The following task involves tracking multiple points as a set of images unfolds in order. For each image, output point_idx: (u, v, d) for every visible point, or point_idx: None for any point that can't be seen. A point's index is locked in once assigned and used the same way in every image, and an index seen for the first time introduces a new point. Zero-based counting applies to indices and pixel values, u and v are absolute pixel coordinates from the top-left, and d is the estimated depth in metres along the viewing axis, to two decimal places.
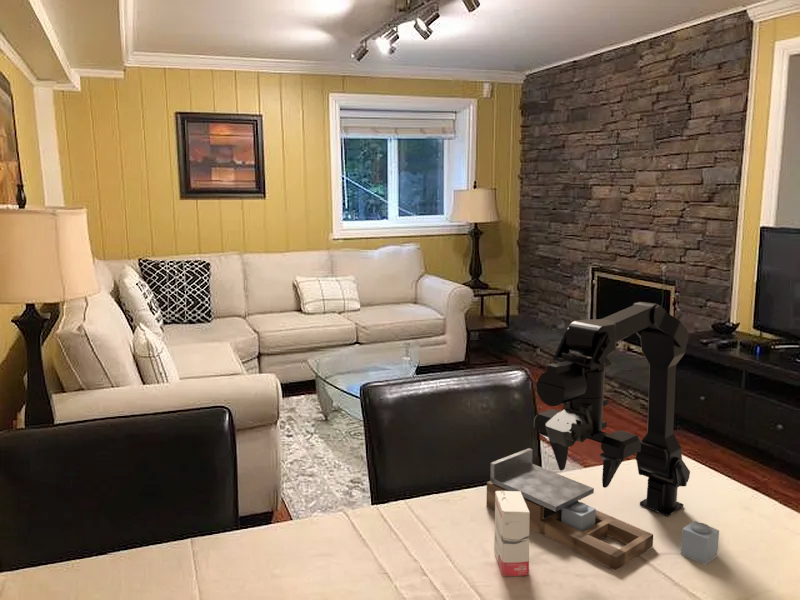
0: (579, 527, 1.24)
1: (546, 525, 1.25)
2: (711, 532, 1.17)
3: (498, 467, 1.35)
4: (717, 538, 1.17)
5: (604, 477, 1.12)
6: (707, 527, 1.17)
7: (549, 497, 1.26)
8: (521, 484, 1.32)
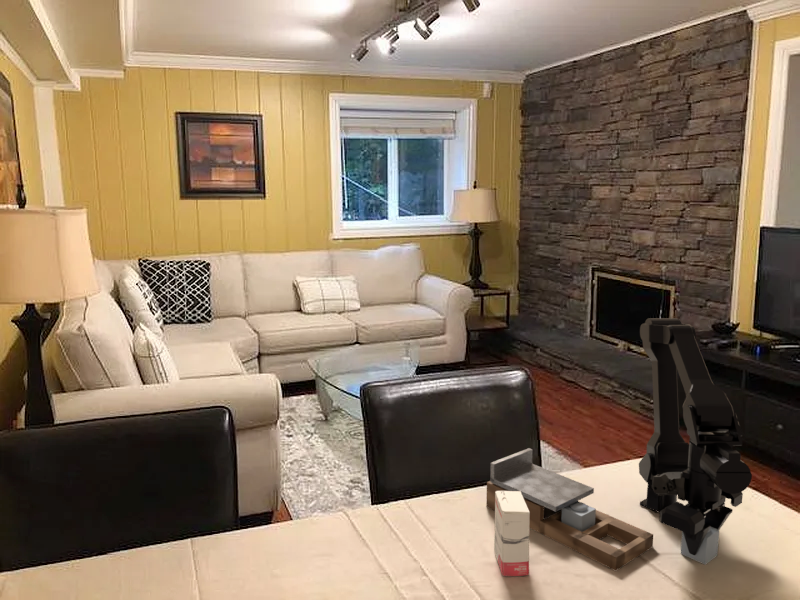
0: (579, 527, 1.24)
1: (546, 525, 1.25)
2: (711, 532, 1.17)
3: (498, 467, 1.35)
4: (717, 538, 1.17)
5: None
6: None
7: (549, 497, 1.26)
8: (521, 484, 1.32)
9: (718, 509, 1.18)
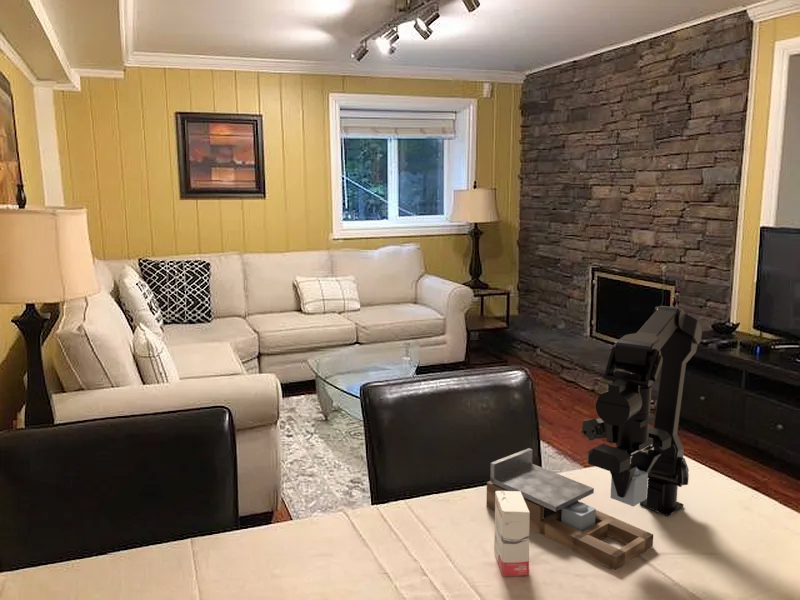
0: (579, 527, 1.24)
1: (546, 525, 1.25)
2: (640, 474, 1.17)
3: (498, 467, 1.35)
4: (646, 480, 1.17)
5: None
6: (636, 470, 1.17)
7: (549, 497, 1.26)
8: (521, 484, 1.32)
9: (646, 452, 1.18)
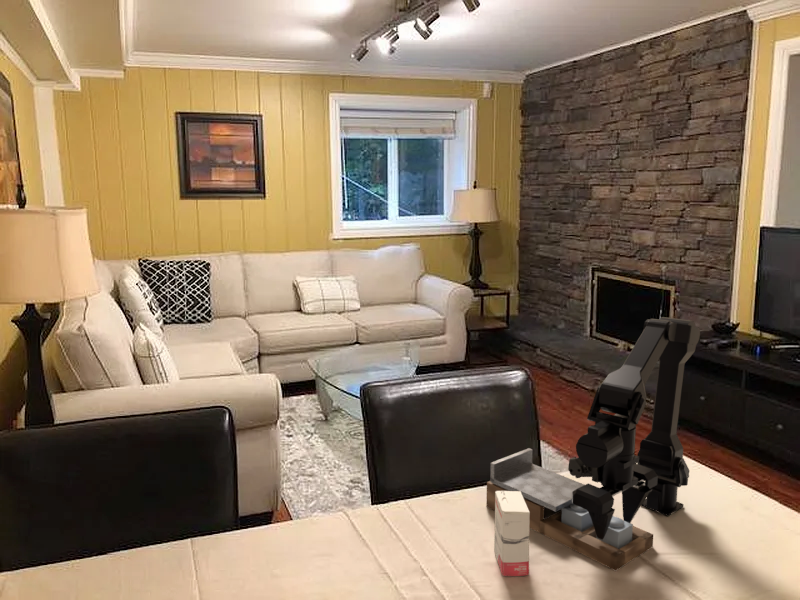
0: (579, 527, 1.24)
1: (546, 525, 1.25)
2: (624, 526, 1.19)
3: (498, 467, 1.35)
4: (630, 532, 1.20)
5: None
6: (621, 521, 1.20)
7: (549, 497, 1.26)
8: (521, 484, 1.32)
9: (638, 488, 1.21)
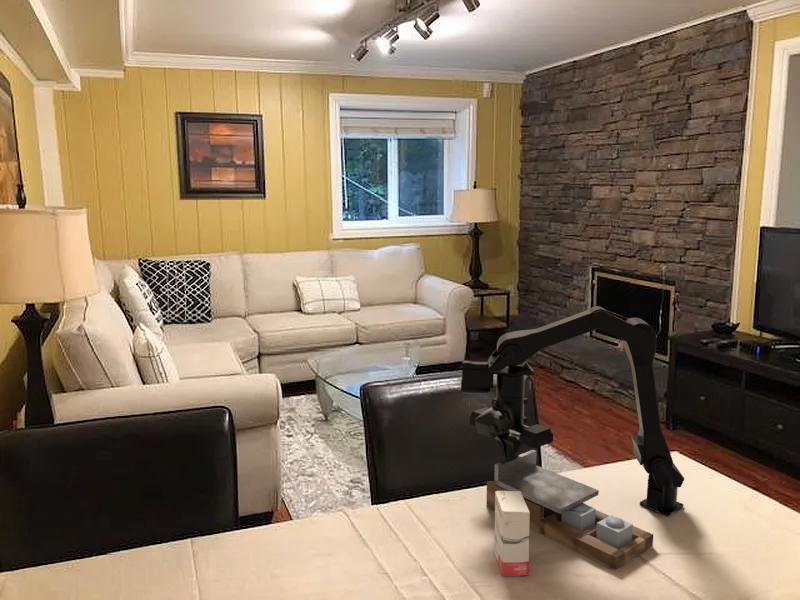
0: (579, 527, 1.24)
1: (546, 525, 1.25)
2: (624, 526, 1.19)
3: (502, 469, 1.34)
4: (630, 532, 1.20)
5: (508, 457, 1.38)
6: (621, 521, 1.20)
7: (554, 499, 1.25)
8: (526, 486, 1.31)
9: (509, 429, 1.40)
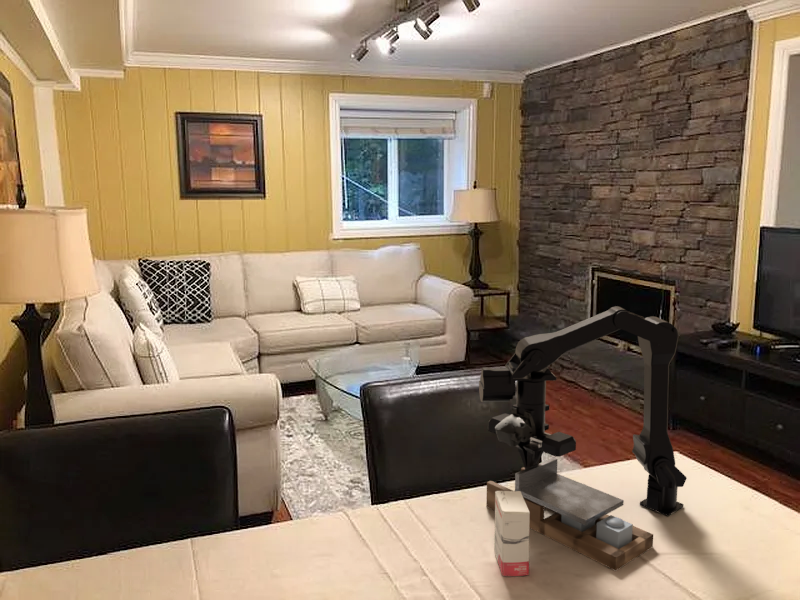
0: (579, 527, 1.24)
1: (546, 525, 1.25)
2: (624, 526, 1.19)
3: (523, 478, 1.30)
4: (630, 532, 1.20)
5: (528, 465, 1.34)
6: (621, 521, 1.20)
7: (578, 510, 1.21)
8: (548, 496, 1.27)
9: None
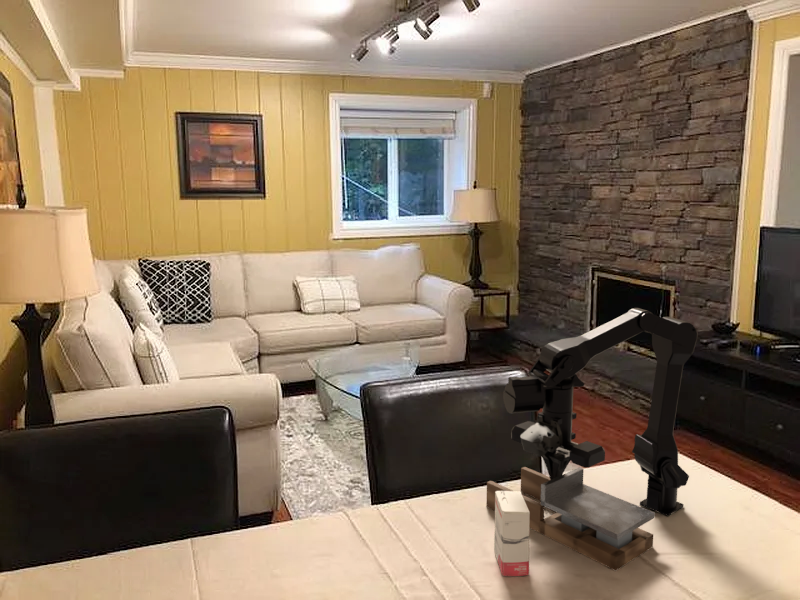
0: (579, 527, 1.24)
1: (546, 525, 1.25)
2: None
3: (549, 489, 1.25)
4: (630, 532, 1.20)
5: (554, 475, 1.29)
6: None
7: (608, 523, 1.16)
8: (575, 508, 1.22)
9: None
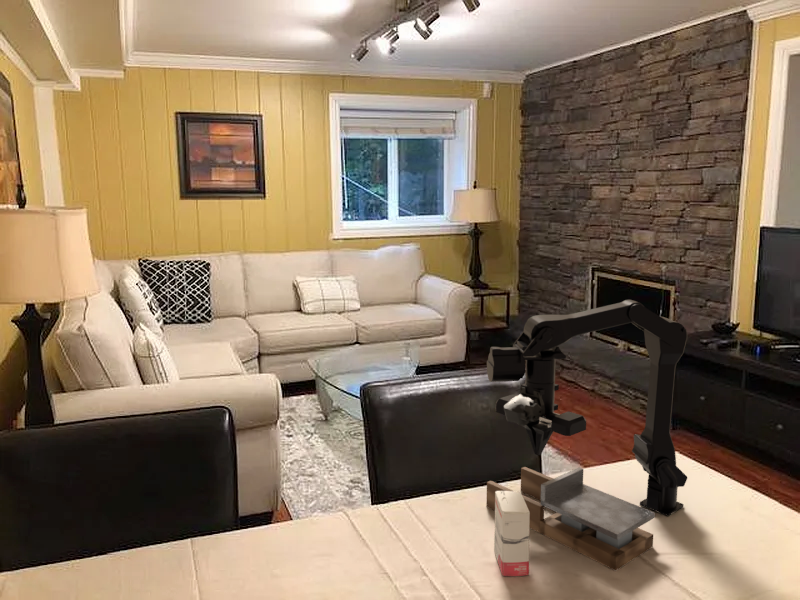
0: (579, 527, 1.23)
1: (546, 525, 1.25)
2: None
3: (549, 489, 1.25)
4: (630, 532, 1.20)
5: (537, 446, 1.31)
6: None
7: (608, 523, 1.16)
8: (575, 508, 1.22)
9: (538, 417, 1.33)
